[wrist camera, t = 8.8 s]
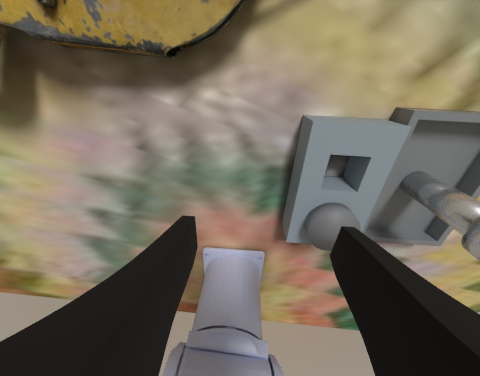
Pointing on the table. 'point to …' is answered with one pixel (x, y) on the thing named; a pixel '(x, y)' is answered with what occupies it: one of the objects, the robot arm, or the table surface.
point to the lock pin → (447, 206)
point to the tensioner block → (338, 188)
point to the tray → (434, 163)
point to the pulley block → (120, 23)
